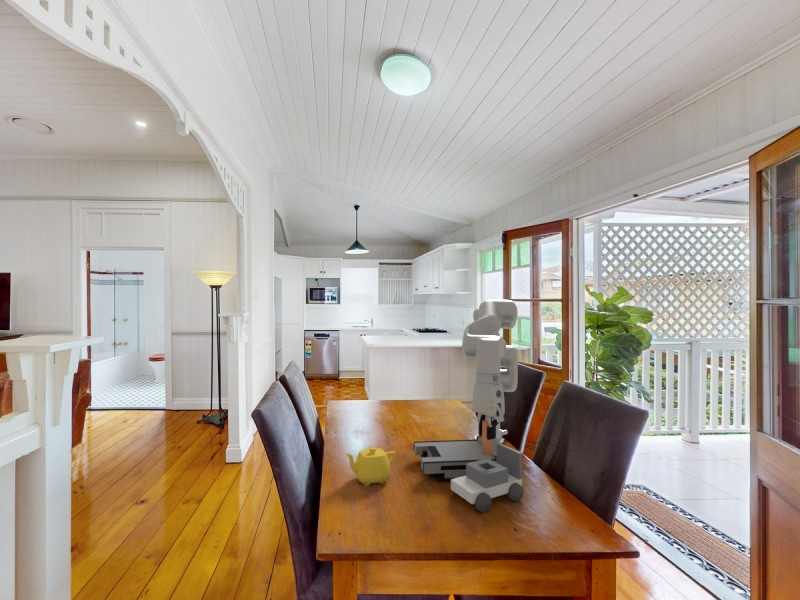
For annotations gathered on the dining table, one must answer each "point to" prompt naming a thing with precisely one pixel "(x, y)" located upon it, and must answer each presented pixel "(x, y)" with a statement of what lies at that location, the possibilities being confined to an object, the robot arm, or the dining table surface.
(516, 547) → the dining table surface
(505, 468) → the ramp trolley
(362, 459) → the teapot
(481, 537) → the dining table surface
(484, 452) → the pin
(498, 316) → the robot arm
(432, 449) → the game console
